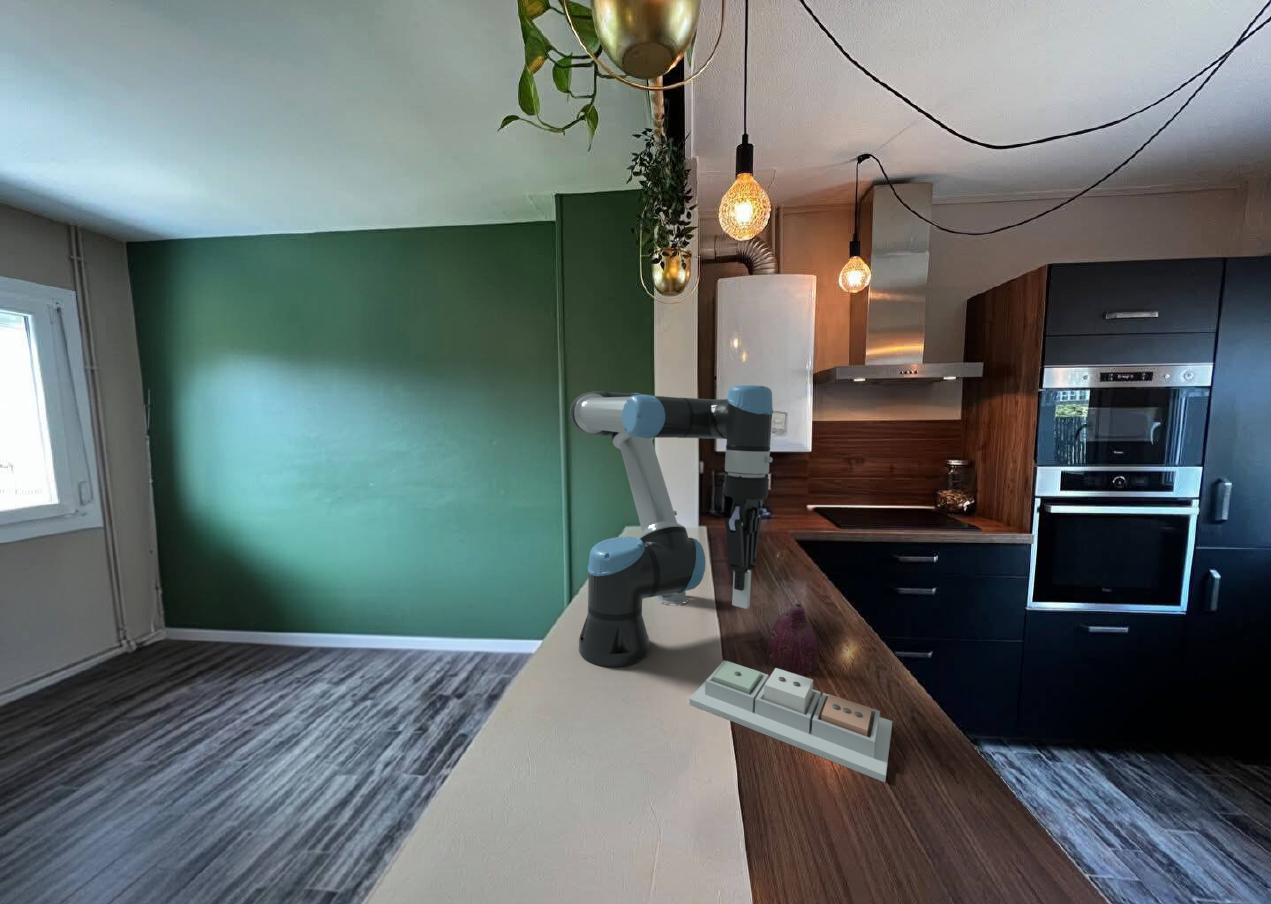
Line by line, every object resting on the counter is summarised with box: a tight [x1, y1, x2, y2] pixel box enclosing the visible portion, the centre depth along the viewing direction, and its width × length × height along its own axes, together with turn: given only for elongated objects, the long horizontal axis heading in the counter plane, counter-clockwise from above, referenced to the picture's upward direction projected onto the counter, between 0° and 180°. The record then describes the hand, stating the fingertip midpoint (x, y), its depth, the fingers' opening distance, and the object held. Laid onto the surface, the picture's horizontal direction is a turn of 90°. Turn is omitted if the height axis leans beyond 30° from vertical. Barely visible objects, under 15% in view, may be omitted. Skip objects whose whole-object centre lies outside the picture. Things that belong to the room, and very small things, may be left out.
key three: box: [821, 693, 873, 737], centre depth 71 cm, size 6×6×3 cm
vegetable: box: [766, 602, 819, 675], centre depth 92 cm, size 10×10×15 cm
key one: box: [714, 660, 762, 695], centre depth 81 cm, size 6×6×3 cm
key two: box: [764, 667, 814, 714], centre depth 76 cm, size 6×6×3 cm
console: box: [688, 660, 893, 783], centre depth 76 cm, size 30×14×4 cm, turn 57°
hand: (740, 605), depth 80 cm, fingers closed
